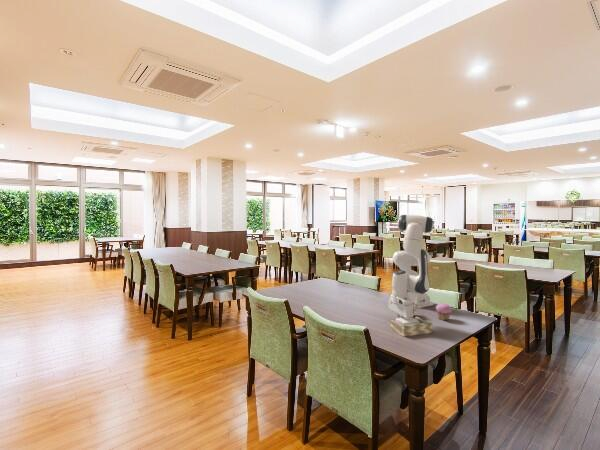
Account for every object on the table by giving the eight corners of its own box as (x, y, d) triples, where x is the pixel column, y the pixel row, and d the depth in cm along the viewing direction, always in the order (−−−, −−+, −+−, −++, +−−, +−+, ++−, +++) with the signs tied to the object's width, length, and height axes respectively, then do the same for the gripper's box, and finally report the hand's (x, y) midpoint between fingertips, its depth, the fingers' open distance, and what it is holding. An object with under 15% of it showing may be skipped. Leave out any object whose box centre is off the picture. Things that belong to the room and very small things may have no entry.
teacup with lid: (404, 318, 198) (404, 299, 198) (396, 313, 207) (396, 296, 207) (421, 316, 201) (421, 298, 200) (413, 312, 210) (413, 294, 209)
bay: (416, 324, 186) (416, 314, 186) (432, 332, 173) (432, 322, 173) (390, 327, 182) (389, 318, 181) (403, 336, 169) (403, 326, 168)
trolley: (410, 324, 187) (410, 316, 187) (420, 329, 178) (420, 321, 178) (393, 326, 184) (393, 318, 184) (402, 332, 175) (402, 323, 175)
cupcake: (445, 316, 200) (445, 301, 199) (454, 321, 191) (454, 304, 191) (433, 317, 198) (432, 301, 198) (441, 322, 190) (441, 305, 189)
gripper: (385, 294, 196) (386, 316, 196) (405, 303, 176) (405, 327, 177) (394, 293, 198) (395, 315, 198) (415, 302, 178) (415, 326, 178)
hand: (400, 321), depth 187 cm, fingers closed
